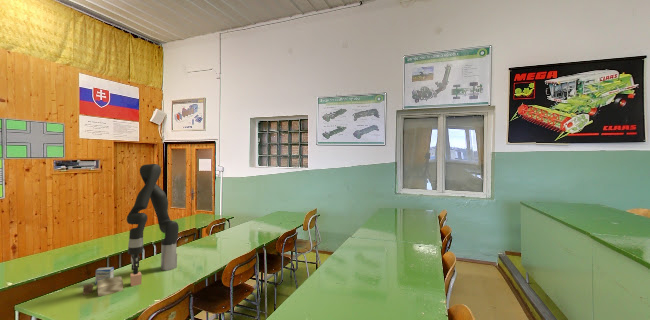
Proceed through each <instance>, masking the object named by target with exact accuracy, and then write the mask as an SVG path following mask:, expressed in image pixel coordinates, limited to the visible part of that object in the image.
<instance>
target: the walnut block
mask: <svg viewBox="0 0 650 320" xmlns="http://www.w3.org/2000/svg"><path fill="white" fill-rule="evenodd" d="M93 289H94V285H93V283H88V284H83V286H82V293H83V294H82V295H83V296H86V295H90V294H93V292H94V290H93Z"/></svg>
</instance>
